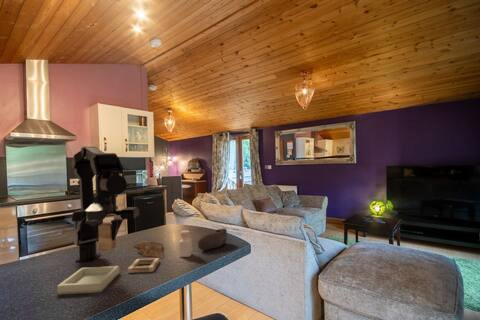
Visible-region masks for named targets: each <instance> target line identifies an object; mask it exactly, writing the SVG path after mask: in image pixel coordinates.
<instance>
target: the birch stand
mask: <svg viewBox="0 0 480 320" xmlns="http://www.w3.org/2000/svg"><path fill="white" fill-rule="evenodd" d="M159 263H160V258H158V257H145V258H136V259H135V260H134V262H132V264H130V266H128V268H127V273H128V274H132V273H133V274H134V273H136V274H138V273H153V272H154V270H155V269H156V268H157V266H158V265H159ZM142 265H143V266H142Z"/></svg>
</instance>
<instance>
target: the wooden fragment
mask: <svg viewBox="0 0 480 320" xmlns="http://www.w3.org/2000/svg"><path fill="white" fill-rule="evenodd" d="M132 247H133V248H134V247H135V248H136V249H137V250H138V251H137V253H138V254H140V255H142V256H143V257H145V258H159V259H165V253H164V245H163V244H162V243H159V242H153V241H148V240H143V241H141V242H138V243H135V244H134V245H132Z"/></svg>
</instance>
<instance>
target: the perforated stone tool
mask: <svg viewBox="0 0 480 320" xmlns="http://www.w3.org/2000/svg"><path fill="white" fill-rule="evenodd" d="M227 232H228V231H227V229H226V228H225V227H224V228H221V229H219V228H218V229H216V230H213V231H210V232H208V233H206V234H204V235H202V237H201V238H200V239H199V240H198V243H197V246H198V249H199V250H201V251H208V250H213V248H214V249H216V248H220V247H221V246H224V245H226V242H227V239H228V235H227Z"/></svg>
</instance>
